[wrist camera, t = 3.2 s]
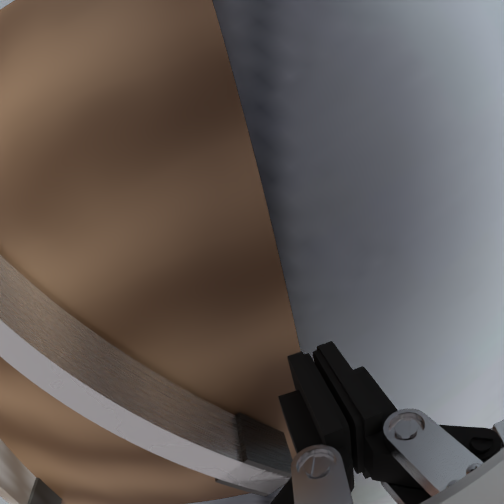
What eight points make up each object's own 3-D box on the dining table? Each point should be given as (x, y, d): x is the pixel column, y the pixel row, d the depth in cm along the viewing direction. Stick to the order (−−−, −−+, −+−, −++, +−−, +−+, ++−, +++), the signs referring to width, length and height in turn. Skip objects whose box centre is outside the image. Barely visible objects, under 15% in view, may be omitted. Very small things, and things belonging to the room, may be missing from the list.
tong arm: (-82, 207, 9) (-120, 220, 6) (-70, 169, 8) (-111, 176, 5) (256, 454, 15) (265, 496, 12) (283, 432, 15) (297, 475, 12)
